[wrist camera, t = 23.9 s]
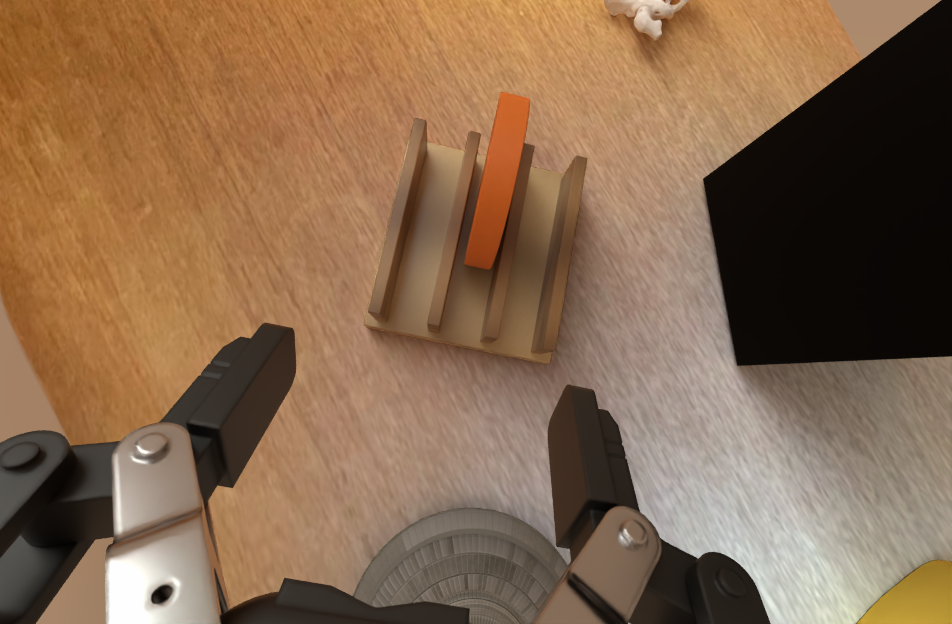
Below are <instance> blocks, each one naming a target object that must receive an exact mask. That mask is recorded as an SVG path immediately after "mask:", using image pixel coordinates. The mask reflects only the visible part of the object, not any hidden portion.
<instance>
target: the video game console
mask: <svg viewBox="0 0 952 624" xmlns="http://www.w3.org/2000/svg"><path fill="white" fill-rule="evenodd" d="M703 180H704V185H705V191H706V196H707V202H708V207H709V213H710V218H711V224H712V229H713V235H714V240H715V246H716V251H717V257H718V262H719V268H720V273H721V279H722V284H723V289H724V295H725V300H726V306H727V311H728V317H729V322H730V328H731V333H732V339H733V344H734V350H735V355H736V361H737V366H745V365H767V364H790V363H812V362H835V361H858V360H880V359H903V358H926V357H948V356H952V0H941V1H940V2H939V3H937V4H936V5H935V6H933V7H932V8H931V9H929V10H928V11H927V12H926V13H924V14H923V15H921V16H920V17H919V18H917V19H916V20H915V21H913V22H912V23H911V24H909V25H908V26H907V27H905V28H904V29H903V30H901V31H900V32H899V33H897V34H896V35H895V36H893V37H892V38H891V39H889V40H888V41H887V42H885V43H884V44H883V45H881V46H880V47H879V48H877V49H876V50H875V51H873V52H872V53H871V54H869V55H868V56H867V57H865V58H864V59H863V60H861V61H860V62H859V63H857V64H856V65H855V66H853V67H852V68H851V69H849V70H848V71H847V72H845V73H844V74H842V75H841V76H840V77H838V78H837V79H836V80H834V81H833V82H832V83H830V84H829V85H828V86H826V87H825V88H824V89H822V90H821V91H820V92H818V93H817V94H816V95H814V96H813V97H812V98H810V99H809V100H808V101H806V102H805V103H804V104H802V105H801V106H800V107H798V108H797V109H796V110H794V111H793V112H792V113H790V114H789V115H788V116H786V117H785V118H784V119H782V120H781V121H780V122H778V123H777V124H776V125H774V126H773V127H772V128H770V129H769V130H768V131H766V132H765V133H764V134H762V135H761V136H760V137H758V138H757V139H756V140H754V141H753V142H752V143H750V144H749V145H748V146H746V147H745V148H744V149H742V150H741V151H740V152H738V153H737V154H736V155H734V156H733V157H732V158H730V159H729V160H728V161H726V162H725V163H724V164H722V165H721V166H720V167H718V168H717V169H716V170H714V171H713V172H712V173H710V174H709V175H708V176H706V177H705V178H704V179H703Z"/></svg>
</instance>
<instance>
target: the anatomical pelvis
mask: <svg viewBox="0 0 952 624" xmlns="http://www.w3.org/2000/svg"><path fill="white" fill-rule="evenodd" d="M688 1H690V0H681V1H680V2H679V3H678V4H676V5H670V2H671V0H665V2H663V1H662V0H604V4H605V7H606V9H607V10H608V11H609V13H610V14H611V15H613V16H616V15H617V14H625V15H626V16H627V17H635V20H634V26H635V28H636V29H637V30H638V31H639V32H643V33H646V34H647V35H649V36H650V37H651V38H652V39H653V40H654V41H656V40H657V39H658V38H659V37H660V36H661V35H662V32H661V26H662V22H661V21H660V19H664V18H667V19H668V20H669V19H670V18H672V17H673V13H674V12H676V11H679V10H680V9H681V8H682V7H683V6H684V5H685V4H686V3H687V2H688ZM657 11H658V12H659V13H658V14H655V13H656V12H657Z"/></svg>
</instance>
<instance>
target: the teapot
mask: <svg viewBox="0 0 952 624" xmlns="http://www.w3.org/2000/svg"><path fill="white" fill-rule="evenodd" d="M857 624H952V561H943V560H934V561H930V562H928V563H926V564H924V565H922V566H921V567H919V568H918V569H916V570H915V571H913V572H912V573H911V574H910V575H908V576H907V577H906V578H904V579H903V580H902V581H901V582H899V583H898V584H897V585H896V586H894V587H893V588H892V589H891V590H889V591H888V592H887V593H886V594H885V595H884V596H882V597H881V598H880V599H879V600H878V601H877V602H876V603H875V604H874V605H873V606H872V607H871V608H870V609H869V610H868V611H867V612H866V614H865V615H864V616H863V617H862V618H861V619H860V621H859V622H858V623H857Z"/></svg>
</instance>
